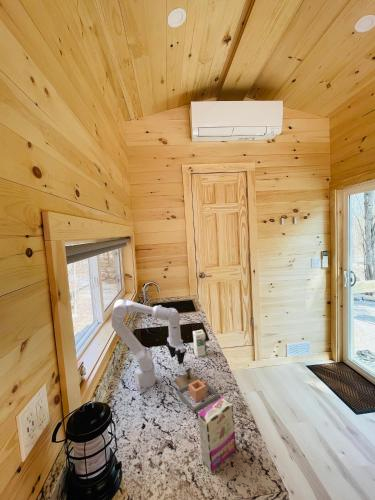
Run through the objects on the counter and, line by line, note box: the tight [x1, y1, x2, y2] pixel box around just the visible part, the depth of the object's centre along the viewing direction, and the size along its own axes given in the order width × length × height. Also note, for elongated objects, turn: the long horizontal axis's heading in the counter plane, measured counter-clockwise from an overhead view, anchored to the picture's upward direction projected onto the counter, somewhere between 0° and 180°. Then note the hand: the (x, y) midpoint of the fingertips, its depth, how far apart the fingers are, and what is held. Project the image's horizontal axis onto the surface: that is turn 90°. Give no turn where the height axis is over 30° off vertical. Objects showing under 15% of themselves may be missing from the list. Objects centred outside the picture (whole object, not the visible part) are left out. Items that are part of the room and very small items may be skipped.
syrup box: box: [192, 329, 208, 358], centre depth 133 cm, size 6×6×14 cm
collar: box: [188, 379, 207, 403], centre depth 101 cm, size 7×6×5 cm
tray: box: [175, 377, 221, 413], centre depth 101 cm, size 14×14×2 cm
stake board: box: [172, 367, 199, 389], centre depth 112 cm, size 10×7×6 cm
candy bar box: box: [197, 396, 237, 472], centre depth 74 cm, size 11×5×16 cm, turn 126°
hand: (176, 360), depth 115 cm, fingers open, 7 cm apart
